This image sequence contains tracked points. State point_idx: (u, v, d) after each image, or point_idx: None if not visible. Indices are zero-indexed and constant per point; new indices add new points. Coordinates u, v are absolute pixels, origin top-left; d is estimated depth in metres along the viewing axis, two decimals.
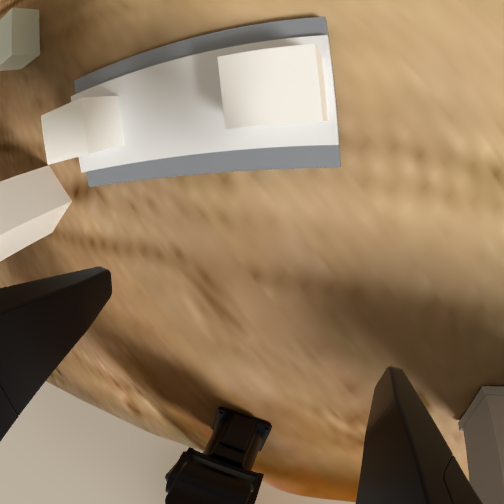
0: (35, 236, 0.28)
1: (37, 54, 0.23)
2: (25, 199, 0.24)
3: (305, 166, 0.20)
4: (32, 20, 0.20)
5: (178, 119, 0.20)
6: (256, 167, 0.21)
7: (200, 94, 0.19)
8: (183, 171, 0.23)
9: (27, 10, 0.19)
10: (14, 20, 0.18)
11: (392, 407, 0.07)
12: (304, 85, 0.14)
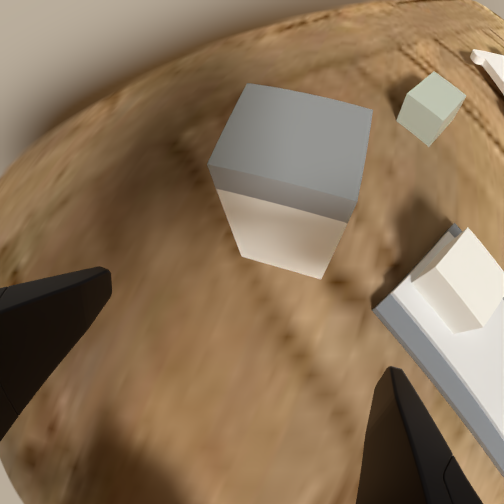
0: (256, 246, 0.21)
1: (429, 143, 0.25)
2: None
3: (501, 466, 0.15)
4: (450, 120, 0.25)
5: (495, 369, 0.18)
6: (487, 445, 0.16)
7: None
8: (458, 403, 0.18)
9: None
10: (459, 104, 0.23)
11: (392, 407, 0.07)
12: None
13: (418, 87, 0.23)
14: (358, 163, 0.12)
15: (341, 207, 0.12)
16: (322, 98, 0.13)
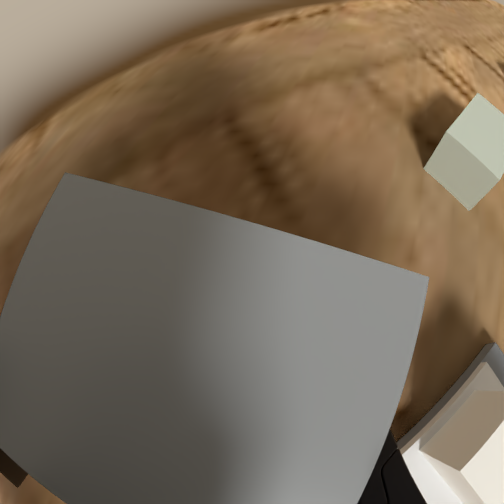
0: None
1: (471, 207, 0.16)
2: None
3: None
4: None
5: None
6: None
7: None
8: None
9: None
10: None
11: None
12: None
13: (461, 120, 0.15)
14: None
15: None
16: (259, 231, 0.04)
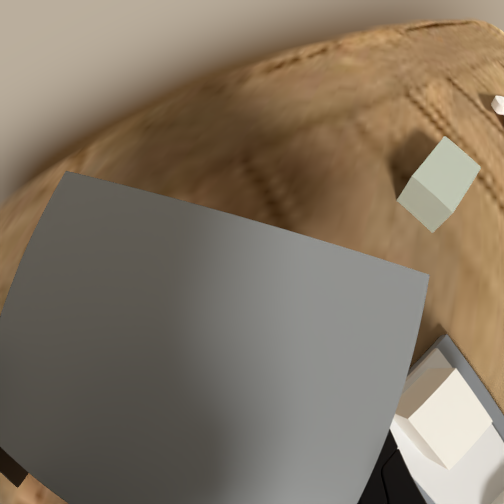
0: None
1: (434, 230, 0.23)
2: None
3: None
4: None
5: (463, 481, 0.15)
6: None
7: (485, 479, 0.15)
8: None
9: None
10: None
11: None
12: None
13: (426, 164, 0.21)
14: None
15: None
16: (259, 229, 0.04)
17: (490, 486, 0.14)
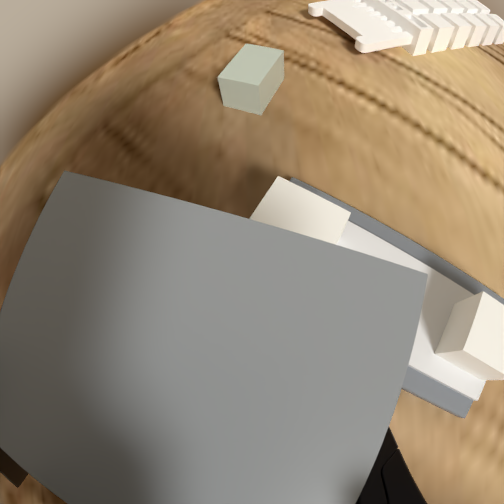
0: None
1: (260, 112, 0.28)
2: None
3: (445, 407, 0.18)
4: (278, 80, 0.29)
5: None
6: (413, 390, 0.19)
7: None
8: None
9: (283, 67, 0.29)
10: (277, 62, 0.27)
11: None
12: None
13: (229, 66, 0.26)
14: None
15: None
16: (257, 228, 0.04)
17: (427, 309, 0.20)
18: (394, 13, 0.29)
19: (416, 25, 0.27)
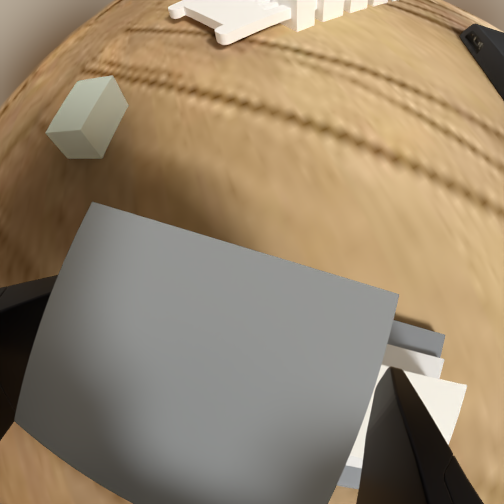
0: None
1: (99, 155, 0.23)
2: None
3: None
4: (117, 110, 0.24)
5: None
6: None
7: None
8: None
9: (120, 94, 0.24)
10: (105, 92, 0.22)
11: (393, 407, 0.07)
12: (440, 429, 0.10)
13: (57, 115, 0.21)
14: (324, 482, 0.04)
15: None
16: (261, 258, 0.05)
17: None
18: None
19: None
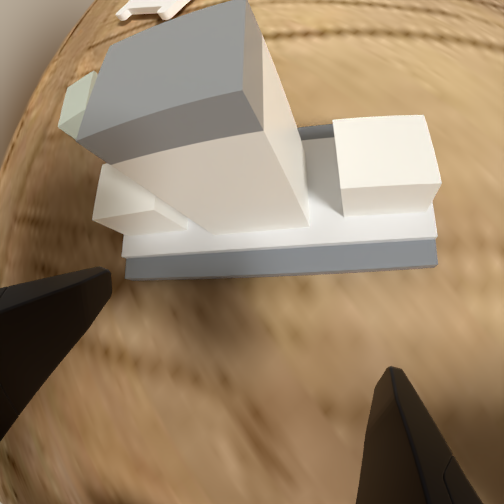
0: (213, 216, 0.17)
1: None
2: (292, 153, 0.15)
3: (402, 265, 0.17)
4: None
5: None
6: (347, 267, 0.18)
7: None
8: (256, 269, 0.20)
9: None
10: (93, 82, 0.27)
11: (392, 407, 0.07)
12: (420, 150, 0.14)
13: (62, 112, 0.27)
14: (236, 51, 0.08)
15: (235, 110, 0.08)
16: (185, 15, 0.09)
17: (309, 179, 0.19)
18: None
19: None
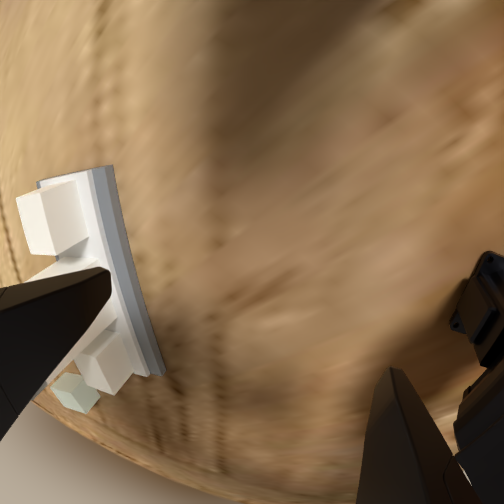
0: None
1: None
2: None
3: (108, 194, 0.23)
4: (66, 377, 0.39)
5: None
6: (116, 233, 0.25)
7: None
8: (130, 291, 0.27)
9: (59, 379, 0.39)
10: (56, 387, 0.37)
11: (392, 407, 0.07)
12: (30, 204, 0.21)
13: (78, 410, 0.37)
14: None
15: None
16: None
17: (76, 256, 0.27)
18: None
19: None
